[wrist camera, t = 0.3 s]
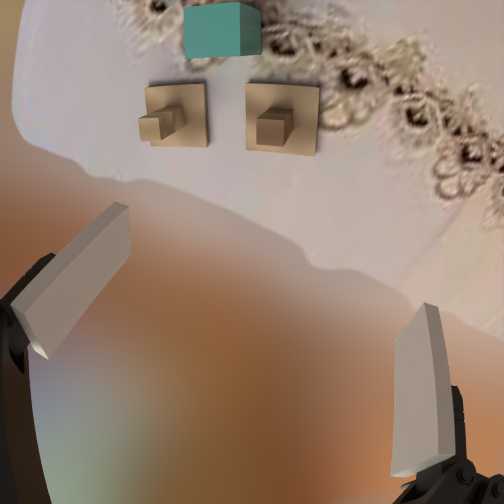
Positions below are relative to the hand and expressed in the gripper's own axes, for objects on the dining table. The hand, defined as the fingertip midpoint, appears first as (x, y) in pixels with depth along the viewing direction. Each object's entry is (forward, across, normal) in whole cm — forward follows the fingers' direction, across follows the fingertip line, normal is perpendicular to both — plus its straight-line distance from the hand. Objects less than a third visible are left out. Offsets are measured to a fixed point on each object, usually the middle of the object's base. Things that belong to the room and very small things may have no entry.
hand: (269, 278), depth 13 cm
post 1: (+26, -17, -3) cm, 31 cm away
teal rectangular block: (+26, -11, +8) cm, 29 cm away
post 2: (+26, -4, 0) cm, 26 cm away
